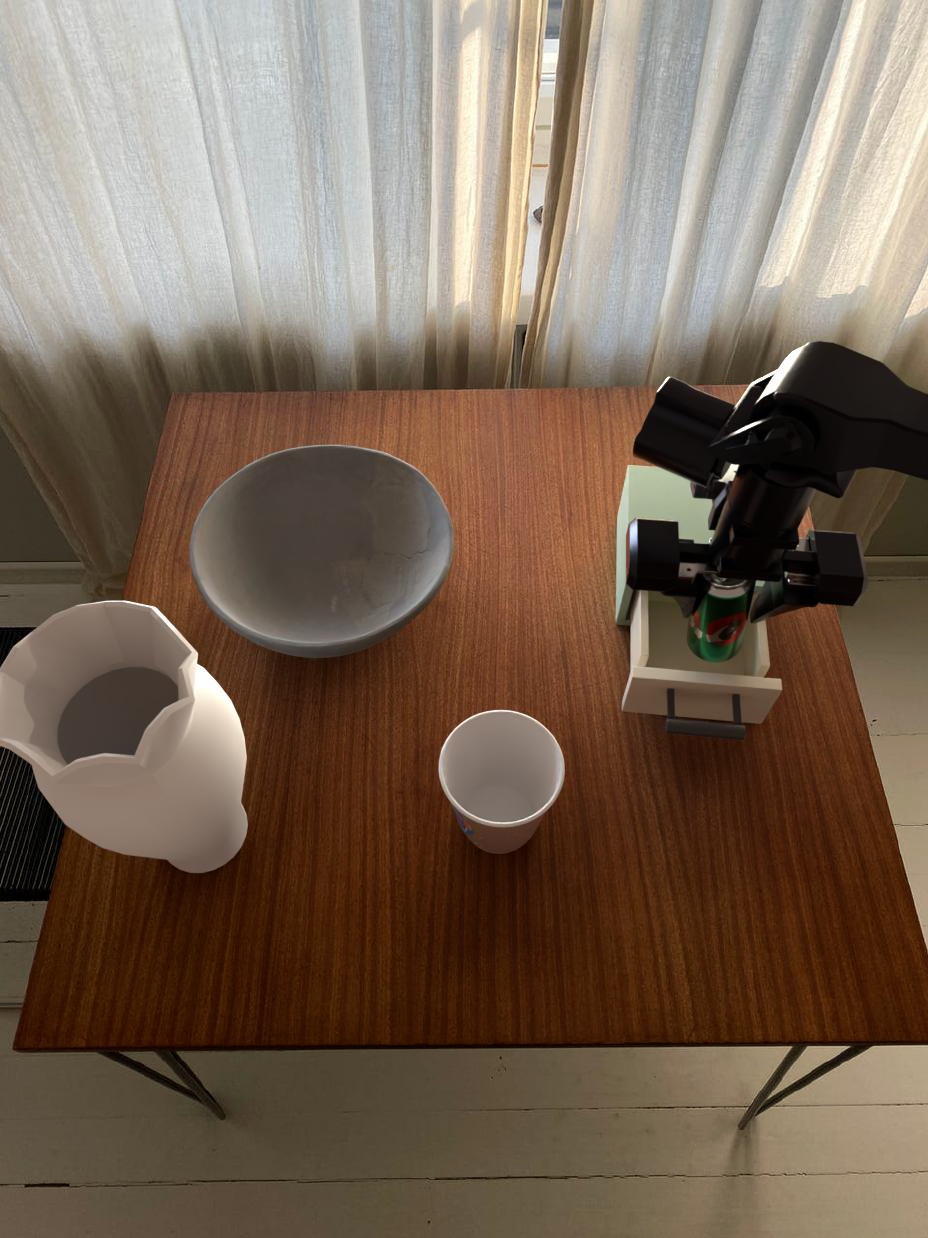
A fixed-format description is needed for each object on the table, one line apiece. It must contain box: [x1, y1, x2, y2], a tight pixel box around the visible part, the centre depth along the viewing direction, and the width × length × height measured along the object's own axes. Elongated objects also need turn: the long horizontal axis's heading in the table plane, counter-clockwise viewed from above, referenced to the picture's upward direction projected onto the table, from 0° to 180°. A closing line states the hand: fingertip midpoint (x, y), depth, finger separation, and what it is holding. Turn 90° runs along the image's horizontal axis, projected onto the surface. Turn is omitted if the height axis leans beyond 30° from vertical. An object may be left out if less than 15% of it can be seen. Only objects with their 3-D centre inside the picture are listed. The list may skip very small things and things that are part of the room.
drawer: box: [621, 590, 783, 741], centre depth 85 cm, size 18×14×7 cm
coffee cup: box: [438, 709, 566, 855], centre depth 76 cm, size 10×10×12 cm
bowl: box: [189, 444, 455, 659], centre depth 91 cm, size 26×26×10 cm
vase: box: [0, 600, 249, 874], centre depth 69 cm, size 15×15×29 cm
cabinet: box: [615, 464, 765, 627], centre depth 93 cm, size 15×15×9 cm
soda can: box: [687, 573, 756, 662], centre depth 77 cm, size 5×5×12 cm
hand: (718, 616), depth 78 cm, fingers closed on soda can, 5 cm apart
